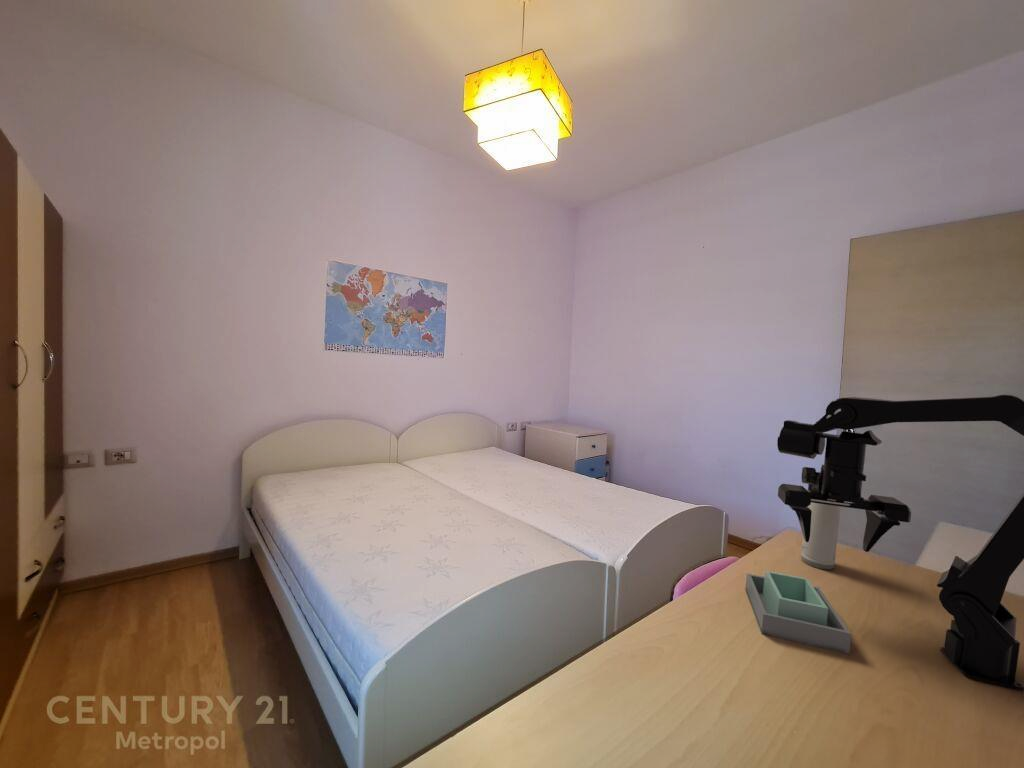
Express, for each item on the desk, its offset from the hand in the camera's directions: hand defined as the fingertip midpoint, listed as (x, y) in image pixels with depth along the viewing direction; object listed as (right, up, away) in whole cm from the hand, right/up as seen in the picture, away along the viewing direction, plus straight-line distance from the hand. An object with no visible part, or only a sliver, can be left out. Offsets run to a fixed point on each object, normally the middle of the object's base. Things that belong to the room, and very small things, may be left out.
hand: (835, 546), depth 77 cm
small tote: (-10, -11, -3) cm, 15 cm away
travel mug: (+10, -11, +18) cm, 24 cm away
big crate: (-10, -12, -3) cm, 16 cm away
